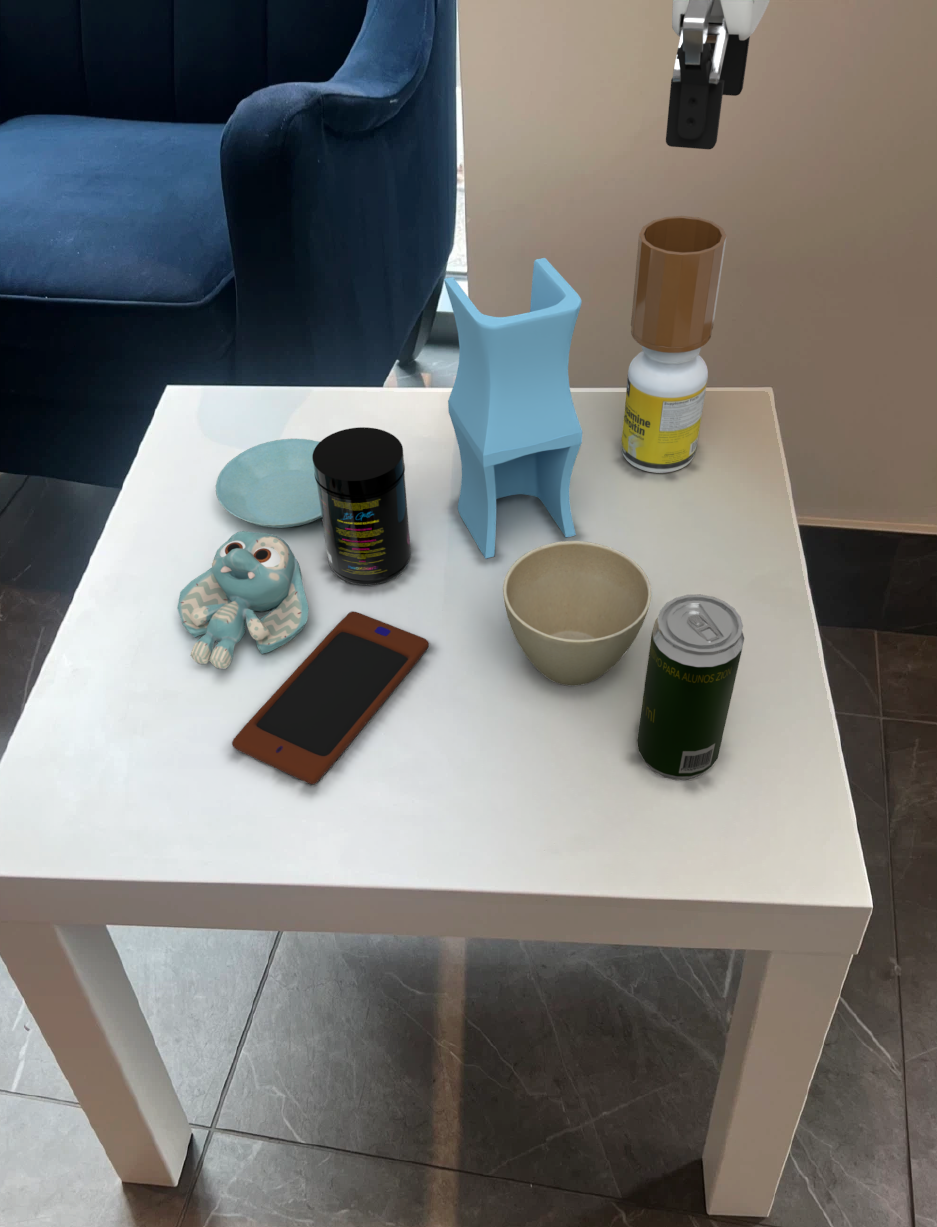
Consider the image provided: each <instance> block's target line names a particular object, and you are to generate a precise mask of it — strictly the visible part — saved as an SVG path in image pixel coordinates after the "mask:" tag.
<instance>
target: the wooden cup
mask: <svg viewBox="0 0 937 1227" xmlns="http://www.w3.org/2000/svg"><path fill="white" fill-rule="evenodd" d="M727 237H728V236H727V233H726V232H725V229H724V228H723V227H722V226H721V225H719V224H717V223H716V222H714V221H712V220H709V219H706V218H701V217H698V216H688V215H673V216H663V217H661V218H657V219H653V220H651V221H650V222H647V223H646V224H644V225H643V226H642V227H641V229H640V230H639V233H638V243H637V253H636V261H635V262H636V263H635V275H634V284H633V285H634V286H633V297H632V305H631V306H632V308H631V318H630V319H631V320H630V335H631V337H632V338H633V340H634V341H635V342H636V343H637V344H638V345H641V347H642V346H643V347H646V348H648V349H651V350H654V351H658V352H665V353H682V352H688V351H692V350H695V349H698V348H700V347H701V348H702V347H704V346H705V345H706V344H707V343H708V342H709V341H710V339H711V337H712V335H713V334H712V332H713V329H714V323H715V317H716V311H717V310H716V309H717V304H718V297H719V290H720V284H721V278H722V269H723V264H724V257H725V251H726V243H727Z"/></svg>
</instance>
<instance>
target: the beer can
mask: <svg viewBox="0 0 937 1227" xmlns="http://www.w3.org/2000/svg"><path fill="white" fill-rule="evenodd" d="M742 620H743V619H742V617H741V615H740V614H739V612H738V611H737V610H736V609H735V608H734V607H733V606H732V605H730V604H729V603H728V602H726V601H725V600H722V599H720V598H717V597H715V596H712V595H706V594H701V593H700V594H698V593H697V594H685V595H681V596H676V597H674V598H673V599H670V600H669V601H667V602H665V604H664V605H663V606H662V607H661V609H660V610H659V613H658V616H657V618H656V619H655V620H654V622H653V626H652V630H651V634H650V643H649V650H648V657H647V665H646V671H645V680H644V687H643V693H642V701H641V707H640V715H639V723H638V730H637V736H636V737H637V738H636V742H637V750H638V753H639V754H640V756H641V758H642V759H643V761H644V763H645V765H646V767H648V768H649V769H650V770H651V771H653V772H654V773H655V774H657V775H659V776H661V777H663V778H666V779H670V780H675V781H686V780H687V781H688V780H691V779H694V778H697V777H698V778H699V777H700V776H702V775H703V774H704V773H706V772H707V771H709V770H710V769H711V768H712V767H713V766H714V764H715V763H716V762H717V761H718V759H719V755H720V750H721V746H722V743H723V742H722V741H723V737H724V732H725V728H726V725H727V724H726V723H727V719H728V714H729V711H730V710H729V709H730V706H731V701H732V696H733V692H734V689H735V683H736V679H737V675H738V674H737V673H738V670H739V665H740V661H741V656H742V652H743V647H744V642H745V635H744V632H743V628H744V625H743V621H742Z"/></svg>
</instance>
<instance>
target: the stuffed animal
mask: <svg viewBox="0 0 937 1227" xmlns="http://www.w3.org/2000/svg"><path fill="white" fill-rule="evenodd" d="M176 609H177V612H178V614H179V618H180V620H181V625H182V626H183V628H185V630H186V631H187V632H188V633H189V634H190V635H191V636H192V637H194V638H196V637H199V636H201V635H202V636H201V637H200V638H198V639H197V640H196V641H195V643H194V644H193V646H192V649H191V651H190V657H191V659H192V661H194V662H195V663H197V664H201V665H208V663H209V662H210V664H211V665H212V666H213V667H214V668H216V669H221V670H223V669H224V670H225V669H228V668H229V666H230V664H231V663H232V660H233V657H234V650H235V646H236V644H238V643H239V642H240V641H241V640H242V639H243V637H244V634H246V627H247V630H248V633H249V635H250V636H251V638H252V639H253V640H255V644H256V648H258V650H259V652H260V654H261V655H262V654H266V653H269V652H272V651H274V650H275V649H277V648H280V647H281V646H284V645H285V644H288V643H290V642H291V641H292V640H293V639H294V638H295V637H296V636H297V635H298V634H299V633H300V632H301V631H302V630H303V629H304V628H305V625H306V624H307V622H308V618H309V610H310V608H309V603H308V600H307V597H306V592H305V587H304V584H303V575H302V570H301V566H300V563H299V562H298V559H297V558H296V556H295V554H294V553H293V551H292V549H291V547H290V545H289V544H288V543H287V542H286V541H285V540H284V539H283V538H280V537H278V536H277V535H274V534H273V533H272V534H271V533H268V532H257V531H255V532H253V531H248V530H247V531H246V530H240V531H237V532H235V533H234V534H232V535H231V536H230V537H229V538H228V539H227V541H225V542H224V543H223V544H222V545H220V547H219V548H218V549H217V550H216V552H215V555H214V557H213V560H212V563H211V567H210V568H208V569H207V570H206V571H205V572H203V573H202V574H200V575H198V576H197V577H195V578H194V579H192V580H190V581H189V583H188V584H186V585H185V587H183V589H182V590H180V592H179V596H178V602H177V608H176ZM267 611H268V612H267ZM255 612H267V613H266V614H265V615H264V616H263V617H261V618H259V617H258V615H257V614H256V613H255ZM215 643H217V644H216V645H215ZM214 645H215V646H214Z"/></svg>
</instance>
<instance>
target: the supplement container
mask: <svg viewBox="0 0 937 1227" xmlns="http://www.w3.org/2000/svg"><path fill="white" fill-rule="evenodd" d="M312 459H313V466H314V475H315V480H316V483H317V489H318V496H319V502H320V509H321V516H322V517H321V522H322V528H323V535H324V541H325V547H326V556H327V561H328V565H329V567H330V568H331V570H332V571H333V573H334V574H335V575H336V576H338V577H339V578H340V579H341V580H343V581H344V582H345V581H346V582H347V583H351V584H353V585H359V586H375V585H380V584H384V583H387V582H389V581H392V580H393V579H394V578H396V577H398V576H399V575H401V573H402V572H403V571H404V570H405V569H406V568H407V566H408V564H409V562H410V559H411V556H412V555H411V554H412V550H411V538H410V524H409V512H408V500H407V498H408V497H407V487H406V475H405V472H406V466H405V458H404V448H403V445H402V442H401V441H400V440H399V438H398V437H396V436H395V435H394V434H393V433H390V432H388V431H386V430H383V429H379V428H376V427H364V426H362V427H361V426H360V427H351V428H345V429H342V430H339V431H336V432H333V433H331V434H329V435H327V436H325V437H324V438H323V439H322V440H320V442H319V444H318V445H317V446H316V447H315V449H314V451H313V455H312Z"/></svg>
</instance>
